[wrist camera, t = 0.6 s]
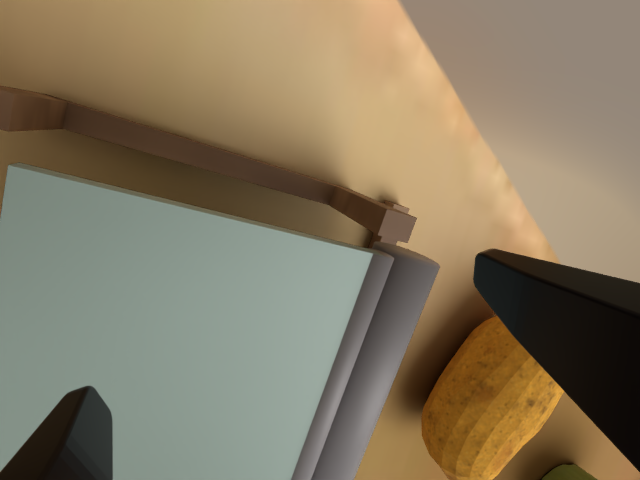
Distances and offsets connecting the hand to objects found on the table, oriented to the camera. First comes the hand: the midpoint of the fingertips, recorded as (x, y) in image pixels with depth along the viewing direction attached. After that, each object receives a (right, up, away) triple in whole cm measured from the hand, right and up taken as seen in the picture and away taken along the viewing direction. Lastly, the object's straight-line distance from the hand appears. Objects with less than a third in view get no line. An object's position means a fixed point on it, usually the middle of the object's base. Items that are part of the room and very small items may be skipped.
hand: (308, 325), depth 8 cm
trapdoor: (-5, -4, +11) cm, 13 cm away
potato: (+12, -9, +23) cm, 28 cm away
